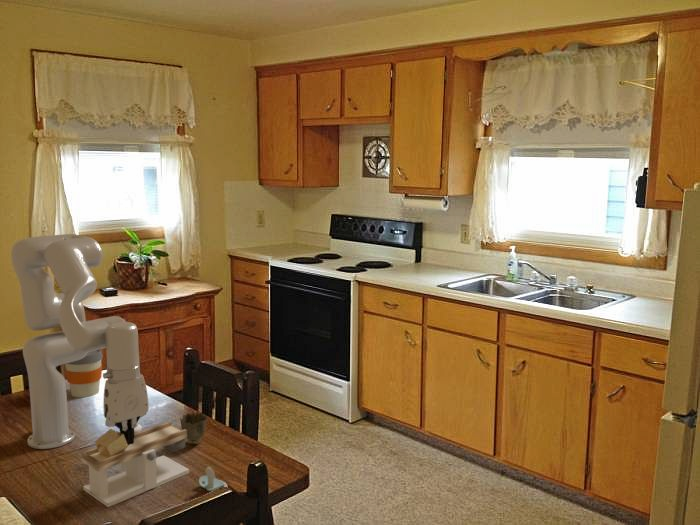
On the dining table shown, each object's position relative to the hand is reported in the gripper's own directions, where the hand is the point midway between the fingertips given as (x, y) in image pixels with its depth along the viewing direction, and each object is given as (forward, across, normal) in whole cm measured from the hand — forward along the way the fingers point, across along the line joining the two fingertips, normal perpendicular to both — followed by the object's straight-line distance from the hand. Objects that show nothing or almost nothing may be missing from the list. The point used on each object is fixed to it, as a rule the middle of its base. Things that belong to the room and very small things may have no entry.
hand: (127, 442), depth 165 cm
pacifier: (+12, +14, -17) cm, 25 cm away
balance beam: (+6, +3, 0) cm, 6 cm away
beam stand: (+11, +2, 0) cm, 12 cm away
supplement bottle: (+12, +11, +16) cm, 23 cm away
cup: (+12, +26, +8) cm, 29 cm away
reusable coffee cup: (+11, +24, +69) cm, 74 cm away
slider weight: (+1, -4, 0) cm, 4 cm away
